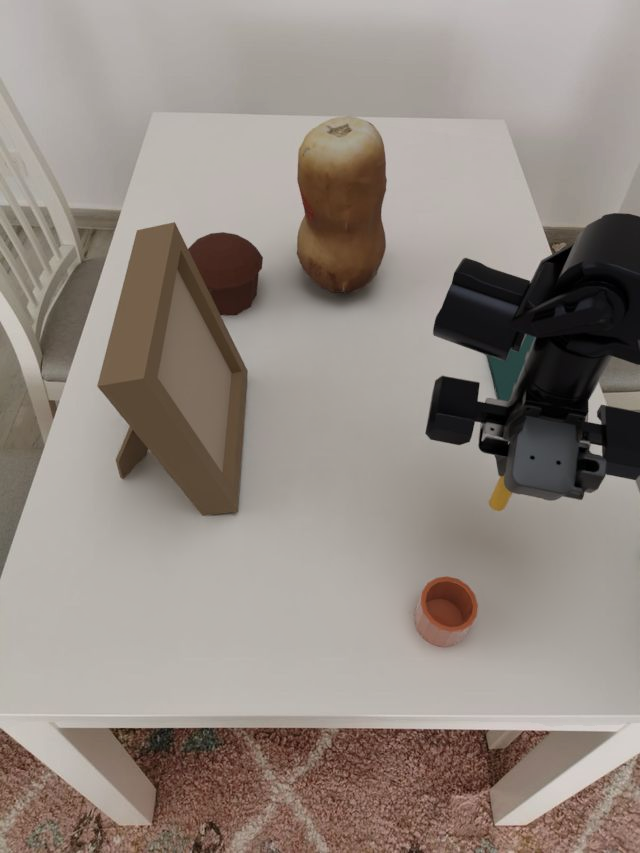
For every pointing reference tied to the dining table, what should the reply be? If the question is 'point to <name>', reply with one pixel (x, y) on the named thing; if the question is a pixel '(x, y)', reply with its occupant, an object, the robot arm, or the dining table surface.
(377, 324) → the dining table surface
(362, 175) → the butternut squash
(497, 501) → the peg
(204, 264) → the muffin
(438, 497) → the dining table surface
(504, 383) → the mat
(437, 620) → the pencil cup
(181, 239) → the photo frame
